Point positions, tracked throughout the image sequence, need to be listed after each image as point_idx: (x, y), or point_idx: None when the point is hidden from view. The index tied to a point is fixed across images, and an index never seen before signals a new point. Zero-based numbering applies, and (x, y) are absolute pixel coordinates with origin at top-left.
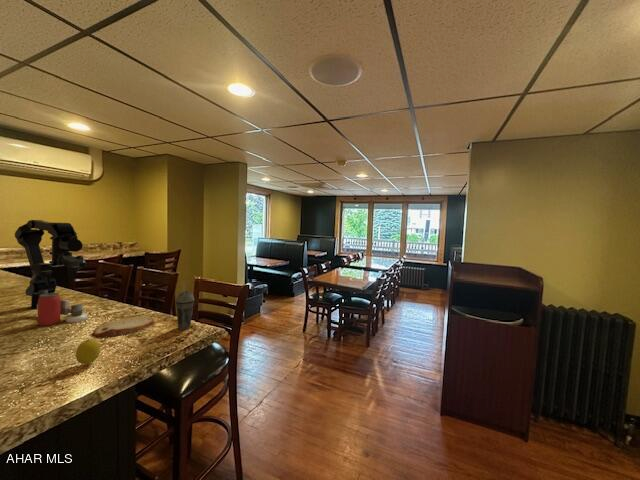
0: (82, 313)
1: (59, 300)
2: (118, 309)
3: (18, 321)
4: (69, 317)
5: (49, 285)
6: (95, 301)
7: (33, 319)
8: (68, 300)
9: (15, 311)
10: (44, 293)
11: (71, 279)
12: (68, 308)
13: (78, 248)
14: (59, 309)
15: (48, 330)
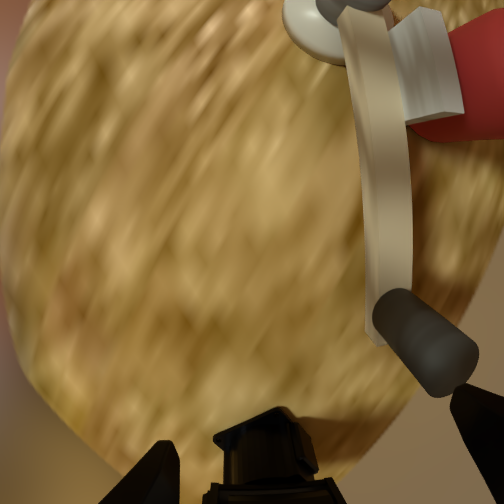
0: (301, 11)
1: (488, 12)
2: (82, 24)
3: (457, 267)
4: (383, 13)
5: (457, 386)
6: (47, 320)
7: (423, 241)
8: (420, 7)
9: (356, 435)
10: (454, 328)
11: (164, 466)
12: (388, 32)
13: None
14: (447, 33)
15: (459, 22)
